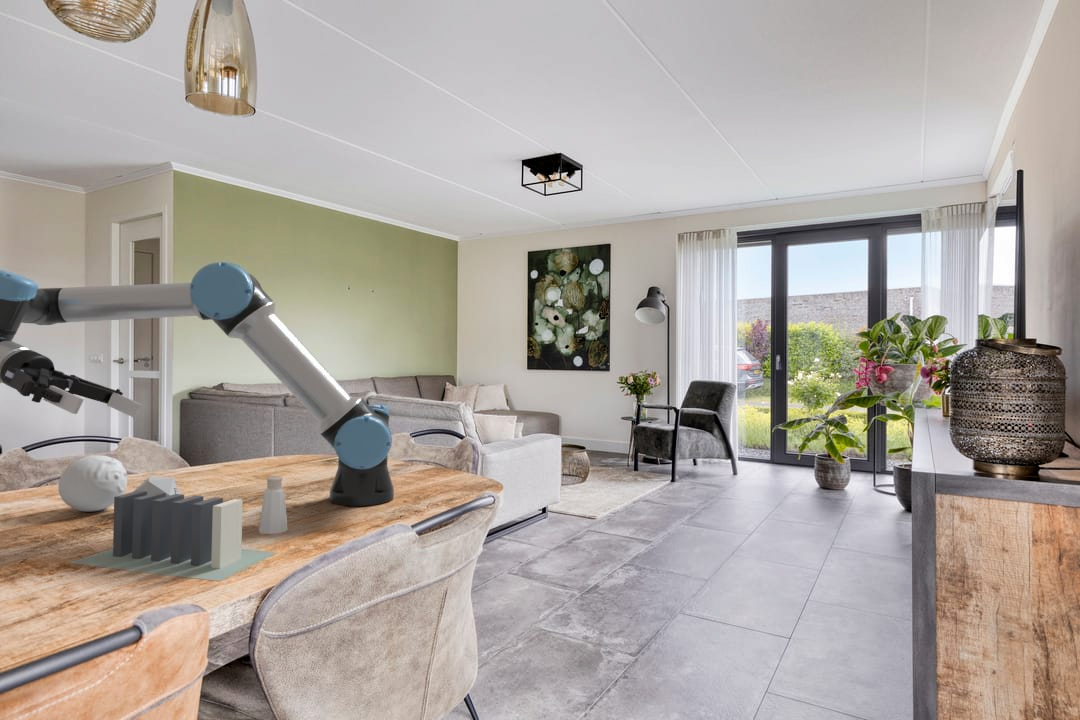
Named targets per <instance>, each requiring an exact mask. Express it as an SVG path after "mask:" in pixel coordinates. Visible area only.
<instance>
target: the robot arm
mask: <svg viewBox="0 0 1080 720" xmlns="http://www.w3.org/2000/svg"><path fill="white" fill-rule="evenodd" d="M275 307H276V303H275V302H274V301H273V299H272V298H271V297H270V296H269V294H267V293H266V292H265V290H264V289H263V288H262V286H261V284H260V282H259V281H258V280H257V278H255V277H254V276H253V275H252V274H250V273H249V272H247V271H246V270H245V269H244V268H243V267H241V266H240V265H237V264H235V263H232V262H225V261H218V262H213V263H208V264H206V265H204V266H203V267H201V268H200V269H199V270H198V271H197V272H195V274H194V275H193V277H192V279H191V282H175V283H172V282H171V283H149V284H129V285H128V284H125V285H104V286H103V285H100V286H96V285H95V286H78V287H77V286H74V287H72V286H71V287H51V288H50V287H48V288H39V285H38V282H37V281H34V280H33V279H30V278H29V277H26V276H23V275H21V274H17V273H14V272H12V271H9V270H8V271H7V270H4V269H0V384H1V383H2V384H5V385H6V386H8V387H10V388H12V389H15V390H16V391H17V392H18V393H19V394H20V395H21V396H23V397H30V395H33V397H32V398H31V402H34V403H38V404H39V403H41V401H42V399H43V401H45V402H47V403H49V404H51V405H53V406H56V407H58V408H60V409H62V410H63V411H66V412H69V413H70V414H74V415H78V413H79V410H80V408H81V407H82V404H83V402H84V400H85V399H83V398H86V399H89V400H93V401H96V402H101V403H102V404H106V406H107V407H110V408H112V409H113V410H116V411H119V412H121V413H123V414H125V415H127V416H130V417H132V418H133V419H134V418H135V419H137V418H138V417H139V414H140V412H141V411H142V408H143V406H144V405H143V404H142V403H139V402H138V401H135V400H134V399H133V400H132V399H131V398H128V397H126V396H124V392H122V391H121V389H120V388H116V390H115V389H113V388H110V387H107V386H104V385H101V384H98V383H95V382H92V381H89V380H87V379H83V378H81V377H78V376H76V375H74V374H70V375H69V374H65V373H64V372H63V371H60V370H56V369H55V365H54V363H53V361H52V360H51V359H50V358H49V357H48V356H45V355H43V354H41V353H39V352H36V351H34V350H33V349H31V348H28V347H26V346H24V345H21V344H19V343H17V342H15V341H13V339H14V337H15V335H16V334H17V333H18V330H19V328H20V326H21V324H33V325H34V324H35V325H38V326H51V325H56V324H65V323H80V322H81V323H82V322H101V321H102V322H103V321H104V322H105V321H121V320H123V321H124V320H137V319H138V320H141V319H143V320H144V319H155V318H156V319H157V318H158V319H159V318H177V317H178V318H179V317H198V318H199V319H200V320H202V321H208V320H212V321H213V322H214V324H216V325H217V327H219V328H220V330H221V331H222V332H223V333H224V334H225V335H226V336H227V337H228V338H230V339H239V340H241V341H242V342H243V343H244V344H245V345H246V346H247V347H248V348H249V349H250V350H251V351H252V352H253V353H254V355H256V357H258V358H259V360H260V361H261V362H262V363H263V364H264V366H265V367H267V368H268V369H269V371H270V372H271V373H273V375H274V376H275V377H276V378H277V379H278V380H279V381H280V382H281V383H282V384H283V386H285V387H286V389H288V390H289V392H290V393H291V394H292V395H293V396H294V397H295V398H296V399H297V401H299V402H300V403H301V404H302V406H304V407H305V409H306V410H307V411H308V412H309V413H310V414H311V415H312V416H313V417H314V418H315V419H316V420H317V421H318V422H319V423H318V424H319V434H320V435H321V436H322V437H323V438H324V440H325V441H326V442H328V444H329V445H330V446H331V447H332V448H333V449H334V450H335V454H336V455H337V457H338V461H337V470H336V473H335V475H334V478H333V481H332V484H331V486H330V490H329V501H330V502H331V503H333V504H337V505H341V506H354V507H355V506H357V507H358V506H373V505H379V504H384V503H385V504H386V503H387V502H390V501H392V500H393V499H394V496H395V495H394V494H395V489H394V486H393V485H394V484H393V480H392V478H391V475H390V471H389V468H388V467H389V466H388V459H389V458H388V455H389V453H390V451H391V448H392V442H393V437H392V433H391V430H390V428H389V427H390V426H389V421H390V416H391V415H390V413H389V411H390V409H389V407H388V406H387V405H382V404H368V403H367V402H366V401H365V400H364V399H363V398H362V397H361V396H360V397H359V396H352V395H350V394H349V393H348V392H347V391H346V390H345V389H344V387H343V386H342V385H341V384H340V383H339V382H338V381H337V380H336V379H335V378H334V376H332V374H331V373H330V372H329V371H328V370H327V369H326V368H325V367H324V365H323V364H321V363H320V361H319V360H318V359H317V358H316V357H315V356H314V354H312V352H311V351H310V350H309V349H308V348H307V347H306V346H305V345H304V344H303V343H302V342H301V340H300V339H299V338H298V337H297V336H296V335H295V334H294V333H293V332H292V331H291V330H290V329H289V327H288V326H287V325H286V324H285V323H284V322H283V321H282V320H281V319H280V318H279V317H278V315H277V314H276V313H275ZM66 389H68V390H66ZM81 397H83V398H81Z"/></svg>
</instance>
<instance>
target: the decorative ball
mask: <svg viewBox="0 0 1080 720" xmlns="http://www.w3.org/2000/svg"><path fill="white" fill-rule="evenodd" d="M127 485H128V473H127V469H126V468H125V467H124V466H123V463H122V462H121V461H120V460H119V459H116V458H114V457H112V456H111V457H110V456H107V455H99V454H96V455H89V456H88V455H87V456H84V457H82V458H81V457H80V458H79V459H77V460H75V461H73V462H72V463H70V464H69V465H68V466H67V467H66V468H65V469H64V471H63V472H62V474H61V475H60V478H59V481H58V493H59V496H60V498H61V500H62V501H63V502H64V504H66V505H67V506H68V507H70V508H72V509H74V510H76V511H80V512H84V513H85V512H86V513H87V512H88V513H89V512H91V513H92V512H98V511H102V510H105V509H108V508H109V507H111V506H112V505H113V506H114V497H116V496H120V495H124V494H125V492H126V488H127Z"/></svg>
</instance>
